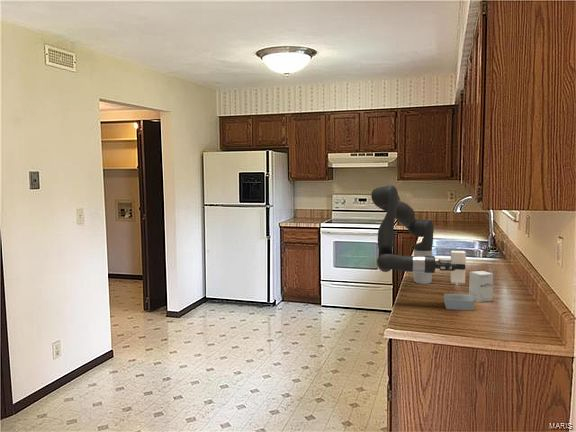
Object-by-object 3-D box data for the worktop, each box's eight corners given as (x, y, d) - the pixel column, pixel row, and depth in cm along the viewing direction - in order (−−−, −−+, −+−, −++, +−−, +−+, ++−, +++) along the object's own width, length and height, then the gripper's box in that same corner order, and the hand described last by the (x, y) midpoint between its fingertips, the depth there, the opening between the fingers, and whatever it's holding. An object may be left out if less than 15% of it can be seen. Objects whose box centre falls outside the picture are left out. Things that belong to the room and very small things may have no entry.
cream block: (450, 279, 212) (450, 250, 211) (463, 280, 211) (464, 250, 210) (451, 282, 207) (452, 252, 206) (465, 283, 206) (465, 253, 205)
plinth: (444, 302, 216) (444, 293, 216) (470, 303, 214) (470, 294, 214) (446, 309, 206) (446, 299, 205) (473, 310, 203) (473, 301, 203)
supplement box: (478, 302, 215) (479, 274, 214) (468, 298, 223) (468, 271, 221) (492, 301, 217) (493, 273, 216) (482, 297, 225) (482, 270, 223)
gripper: (424, 258, 204) (466, 260, 201) (423, 253, 218) (462, 254, 214) (424, 276, 205) (466, 277, 201) (422, 269, 219) (462, 270, 215)
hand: (464, 265), depth 208 cm, fingers closed on cream block, 5 cm apart
